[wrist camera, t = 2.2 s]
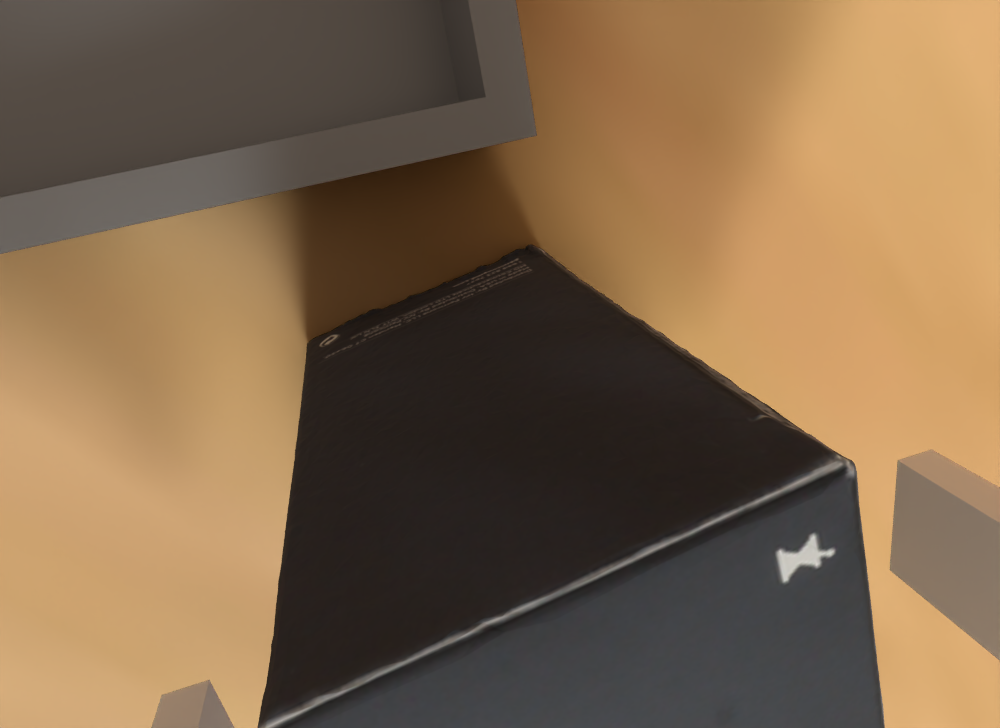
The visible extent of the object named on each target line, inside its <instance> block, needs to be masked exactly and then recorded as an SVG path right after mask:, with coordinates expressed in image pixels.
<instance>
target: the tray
mask: <svg viewBox="0 0 1000 728" xmlns="http://www.w3.org/2000/svg"><path fill="white" fill-rule="evenodd" d="M533 136H537V133H536V127H535V120H534V114H533V108H532V101H531V95H530V88H529V82H528V75H527V69H526V63H525V56H524V50H523V43H522V37H521V30H520V24H519V17H518V11H517V5H516V0H0V254H2V253H7V252H11V251H16V250H20V249H25V248H30V247H34V246H39V245H43V244H48V243H52V242H57V241H61V240H66V239H70V238H75V237H79V236H84V235H89V234H93V233H98V232H102V231H107V230H111V229H116V228H120V227H125V226H129V225H134V224H138V223H143V222H148V221H152V220H157V219H161V218H166V217H170V216H175V215H179V214H184V213H188V212H193V211H197V210H202V209H207V208H211V207H216V206H220V205H225V204H229V203H234V202H238V201H243V200H247V199H252V198H256V197H261V196H266V195H270V194H275V193H279V192H284V191H288V190H293V189H297V188H302V187H306V186H311V185H315V184H320V183H325V182H329V181H334V180H338V179H343V178H347V177H352V176H356V175H361V174H365V173H370V172H374V171H379V170H384V169H388V168H393V167H397V166H402V165H406V164H411V163H415V162H420V161H424V160H429V159H433V158H438V157H443V156H447V155H452V154H456V153H461V152H465V151H470V150H474V149H479V148H483V147H488V146H492V145H497V144H502V143H506V142H511V141H515V140H520V139H524V138H529V137H533Z"/></svg>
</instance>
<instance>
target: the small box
mask: <svg viewBox="0 0 1000 728" xmlns="http://www.w3.org/2000/svg"><path fill="white" fill-rule="evenodd" d="M258 728H885V726H884V714H883V703H882V696H881V688H880V681H879V672H878V665H877V655H876V646H875V638H874V630H873V619H872V609H871V600H870V592H869V583H868V574H867V566H866V558H865V550H864V541H863V533H862V524H861V516H860V508H859V496H858V482H857V471H856V467H855V464H854V463H853V461H852V460H850V459H847V458H845V457H843V456H842V455H840V454H838V453H837V452H835V451H833V450H832V449H830V448H829V447H827V446H826V445H824V444H823V443H822V442H820V441H819V440H817V439H816V438H815V437H813V436H812V435H810V434H807V433H805V432H804V431H803V430H802V429H800V428H798V427H797V426H796V425H794V424H793V423H791V422H790V421H789V420H787V419H786V418H784V417H783V416H782V415H780V414H779V413H778V412H776V411H775V410H774V409H772V408H771V407H769V406H768V405H767V404H765V403H763V402H761V401H760V400H758V399H757V398H756V397H754V396H752V395H751V394H749V393H747V392H745V391H744V390H742V389H741V388H739V387H738V386H737V385H736V384H734V383H733V382H732V381H731V380H730V379H728V378H727V377H725V376H723V375H722V374H720V373H719V372H717V371H715V370H714V369H712V368H711V367H709V366H708V365H707V364H706V363H704V362H703V361H702V360H700V359H698V358H696V357H694V356H693V355H691V354H690V353H689V352H688V351H687V350H685V349H683V348H681V347H679V346H678V345H676V344H675V343H674V342H672V341H671V340H670V339H669V338H667V337H666V336H665V335H664V334H662V333H661V332H658V331H656V330H655V329H654V328H652V327H651V326H649V325H648V324H647V323H645V322H644V321H643V320H641V319H639V318H637V317H635V316H633V315H631V314H629V313H628V312H626V311H625V310H624V309H623V308H622V307H620V306H619V305H618V304H616V303H614V302H613V301H612V300H611V299H609V298H607V297H606V296H604V295H603V294H602V293H600V292H598V291H596V290H595V289H594V288H593V287H591V286H590V285H589V284H587V283H585V282H583V281H582V280H580V279H579V278H578V277H577V276H576V275H575V274H573V273H572V272H570V271H568V270H567V269H566V268H565V267H564V266H563V265H561V264H560V263H559V262H557V261H556V260H555V259H553V258H552V257H551V256H550V255H549V254H548V253H546V252H545V251H544V250H543V249H540V248H538V247H536V246H533V245H531V244H530V245H528V246H526V248H525V249H518V250H515V251H514V252H511V253H510V254H508V255H506V256H504V257H502V258H501V259H500V260H499V261H498V262H496V263H494V264H492V265H488V266H480V267H478V268H477V269H476V270H475V271H474V272H471V273H469V274H466V275H464V276H462V277H459V278H456V279H454V280H452V281H450V282H448V283H443V284H441V285H440V286H438V287H436V288H434V289H430V290H428V291H426V292H424V293H421V294H418V295H413V296H410V297H408V298H407V299H406V300H403V301H401V302H399V303H397V304H393V305H390V306H389V307H387V308H384V309H373V310H371V311H369V312H368V313H366V314H363V315H360V316H359V317H357V318H356V319H353V320H350V321H348V322H346V323H345V324H343V325H341V326H339V327H337V328H335V329H334V330H332V331H331V332H328V333H326V334H323V335H321V336H318V337H316V338H314V339H312V340H311V341H310V342H309V343H308V344H307V353H306V364H305V373H304V383H303V391H302V401H301V410H300V418H299V426H298V436H297V442H296V450H295V461H294V468H293V476H292V483H291V491H290V498H289V506H288V514H287V522H286V530H285V539H284V547H283V555H282V563H281V570H280V576H279V583H278V595H277V603H276V613H275V625H274V636H273V640H272V644H271V657H270V663H269V670H268V677H267V684H266V688H265V692H264V696H263V700H262V706H261V711H260V717H259V723H258Z"/></svg>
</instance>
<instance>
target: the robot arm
mask: <svg viewBox="0 0 1000 728" xmlns="http://www.w3.org/2000/svg"><path fill="white" fill-rule="evenodd" d="M890 571H892V572H893V573H894V574H895V575H896V576H898V577H899V578H900V579H901V580H903V581H904V582H905V583H906V584H907V585H909V586H910V587H911V588H912V589H913V590H915V591H916V592H917V593H918V594H920V595H921V596H922V597H923V598H924V599H926V600H927V601H928V602H929V603H930V604H932V605H933V606H934V607H935V608H937V609H938V610H939V611H940V612H941V613H943V614H944V615H945V616H946V617H947V618H949V619H950V620H951V621H952V622H954V623H955V624H956V625H957V626H958V627H960V628H961V629H962V630H963V631H964V632H966V633H967V634H968V635H969V636H971V637H972V638H973V639H974V640H975V641H977V642H978V643H979V644H980V645H981V646H983V647H984V648H985V649H986V650H988V651H989V652H990V653H991V654H992V655H994V656H995V657H996V658H997V659H998V660H1000V487H998V486H996V485H994V484H992V483H991V482H989V481H987V480H985V479H984V478H982V477H980V476H978V475H976V474H975V473H973V472H971V471H969V470H967V469H966V468H964V467H962V466H960V465H959V464H957V463H955V462H953V461H951V460H950V459H948V458H946V457H944V456H942V455H941V454H939V453H937V452H935V451H934V450H929V451H925V452H922V453H919V454H916V455H913V456H910V457H907V458H904V459H900V460H898V464H897V478H896V491H895V505H894V518H893V532H892V546H891V559H890ZM152 728H234V726H233V724H232V723H231V721H230V719H229V717H228V715H227V713H226V711H225V709H224V707H223V705H222V703H221V701H220V699H219V698H218V696H217V694H216V692H215V690H214V688H213V686H212V684H211V682H210V680H208V681H205V682H201V683H198V684H195V685H192V686H189V687H186V688H183V689H179V690H176V691H173V692H170V693H167V694H164V695H162V696H161V699H160V703H159V706H158V709H157V712H156V715H155V718H154V721H153V725H152Z"/></svg>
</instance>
